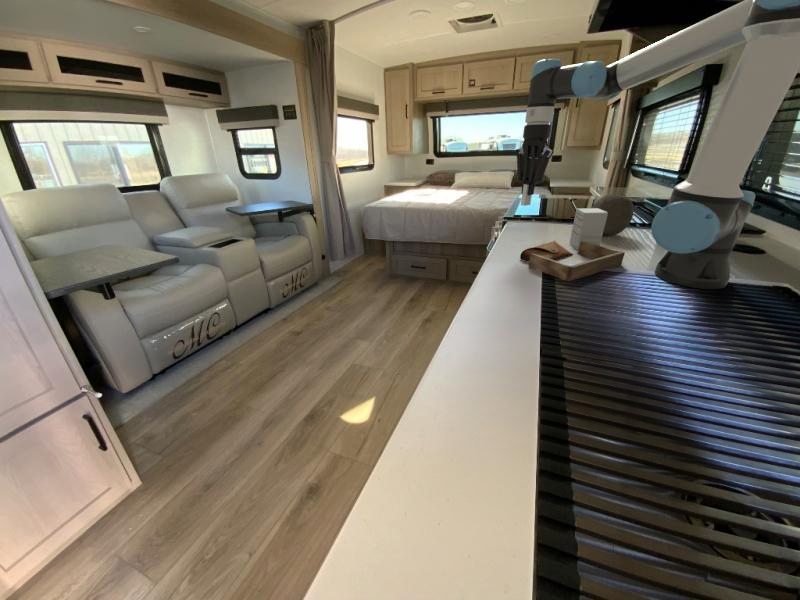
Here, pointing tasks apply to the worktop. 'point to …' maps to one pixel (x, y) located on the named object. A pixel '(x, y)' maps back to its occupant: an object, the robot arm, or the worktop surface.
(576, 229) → the supplement box
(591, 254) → the box
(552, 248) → the sunglasses case
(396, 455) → the worktop surface
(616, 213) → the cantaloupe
